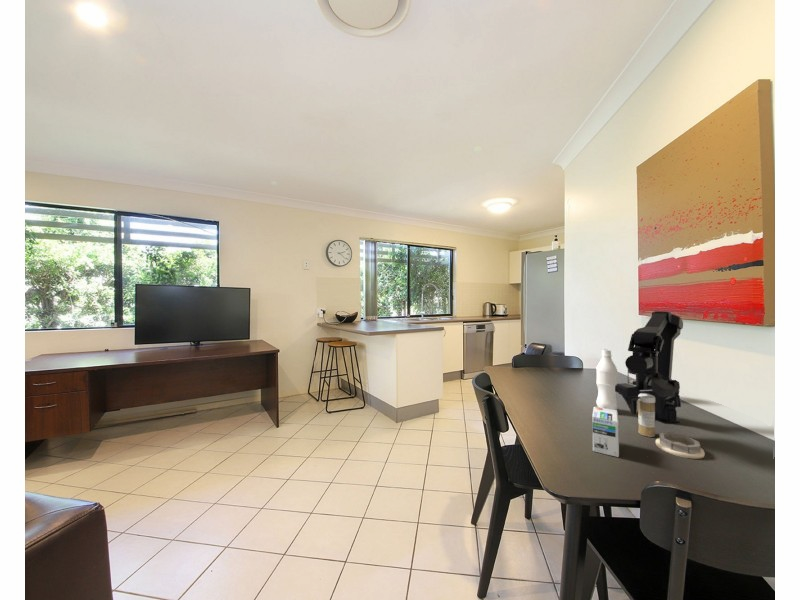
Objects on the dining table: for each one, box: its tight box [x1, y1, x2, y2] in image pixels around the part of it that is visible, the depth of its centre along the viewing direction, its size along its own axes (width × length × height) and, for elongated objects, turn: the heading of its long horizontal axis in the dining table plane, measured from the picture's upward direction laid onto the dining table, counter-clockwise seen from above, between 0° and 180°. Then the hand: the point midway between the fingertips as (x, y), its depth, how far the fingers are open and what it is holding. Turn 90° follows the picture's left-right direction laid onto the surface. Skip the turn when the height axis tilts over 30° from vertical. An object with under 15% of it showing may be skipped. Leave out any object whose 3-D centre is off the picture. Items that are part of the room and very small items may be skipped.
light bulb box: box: [591, 406, 620, 458], centre depth 95 cm, size 11×7×11 cm, turn 145°
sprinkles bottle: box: [637, 394, 656, 438], centre depth 102 cm, size 5×5×14 cm
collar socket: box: [655, 432, 706, 460], centre depth 93 cm, size 11×11×3 cm
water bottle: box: [595, 348, 619, 411], centre depth 123 cm, size 7×7×25 cm
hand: (646, 413), depth 102 cm, fingers open, 9 cm apart
